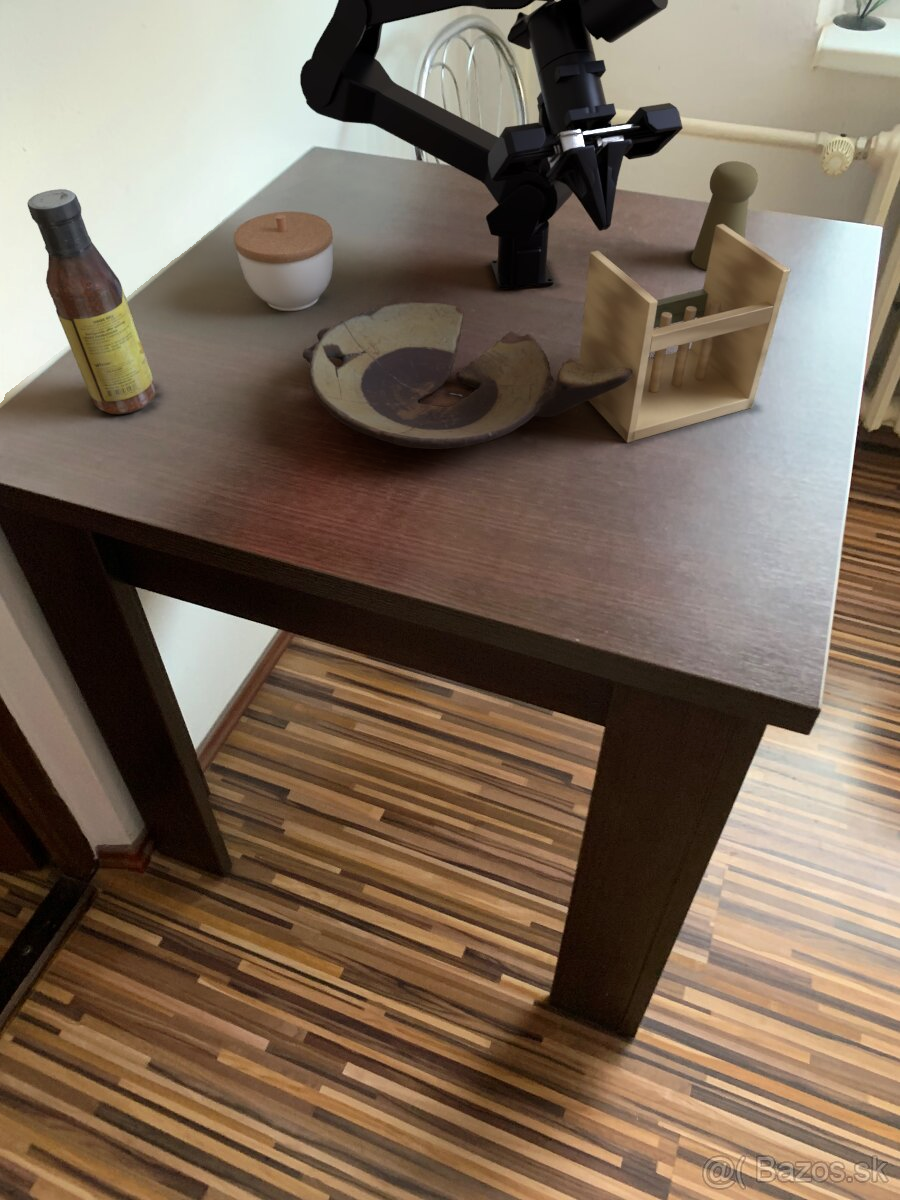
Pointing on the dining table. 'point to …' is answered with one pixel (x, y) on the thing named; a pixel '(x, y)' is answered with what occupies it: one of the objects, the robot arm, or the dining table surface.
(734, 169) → the olive pawn
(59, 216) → the sauce bottle
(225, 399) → the dining table surface
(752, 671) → the dining table surface
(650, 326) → the rack
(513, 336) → the broken clay pan
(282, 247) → the trinket box
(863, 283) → the dining table surface
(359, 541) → the dining table surface
